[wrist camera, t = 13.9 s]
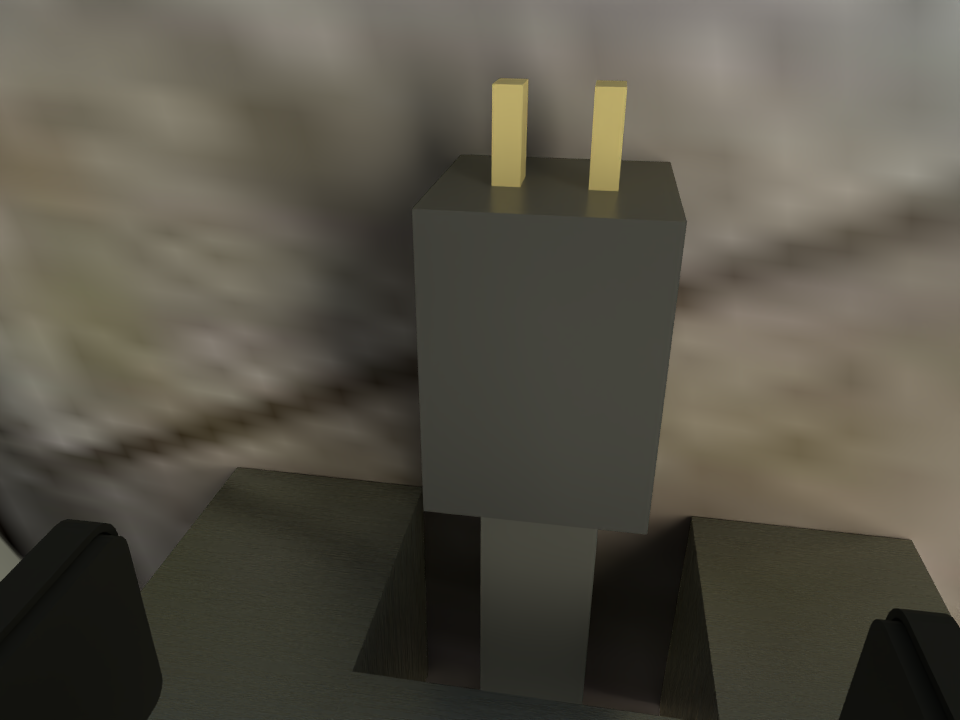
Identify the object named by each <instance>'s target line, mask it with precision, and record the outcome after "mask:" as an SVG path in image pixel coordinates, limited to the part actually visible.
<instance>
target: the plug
mask: <svg viewBox="0 0 960 720" xmlns="http://www.w3.org/2000/svg"><path fill="white" fill-rule="evenodd" d="M626 95H627V81H603V80H597V82H596V86H595V100H594V116H593V131H592V146H591V159H566V158H539V157H526V143H527V109H528V79H510V78H499V79H498V80H497V81H496V82H494V83H493V84H492V156H483V155H460V156H459V158H458V159H457V160H456V161H455V162H454V163H453V164H452V165H451V166H450V168H449V169H448V170H447V171H446V172H445V173H444V174H443V175H442V176H441V177H440V179H439V180H438V181H437V182H436V183H435V184H434V185H433V186H432V187H431V188H430V190H429V191H428V192H427V193H426V194H425V195H424V196H423V197H422V198H421V199H420V201H419V202H418V203H417V204H416V205H415V206H414V207H413V208H412V224H413V250H414V276H415V302H416V328H417V354H418V380H419V406H420V432H421V458H422V484H423V510H424V511H428V512H438V513H447V514H457V515H466V516H476V517H481V614H480V690H483V691H490V692H497V693H504V694H511V695H518V696H525V697H532V698H538V699H545V700H552V701H559V702H566V703H573V704H580V705H582V701H583V690H584V679H585V667H586V656H587V645H588V634H589V623H590V612H591V601H592V590H593V579H594V568H595V557H596V545H597V534H598V530H608V531H617V532H627V533H636V534H645V535H647V531H648V523H649V515H650V507H651V500H652V492H653V484H654V476H655V468H656V460H657V452H658V444H659V437H660V429H661V421H662V413H663V405H664V397H665V389H666V381H667V374H668V366H669V358H670V350H671V342H672V334H673V326H674V318H675V311H676V303H677V295H678V287H679V279H680V271H681V263H682V255H683V248H684V240H685V232H686V224H687V221H686V217H685V214H684V210H683V206H682V203H681V199H680V196H679V192H678V188H677V185H676V181H675V177H674V174H673V170H672V166H671V163H670V162H650V161H622V160H621V154H622V142H623V130H624V118H625V107H626Z"/></svg>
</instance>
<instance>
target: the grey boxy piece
mask: <svg viewBox="0 0 960 720" xmlns="http://www.w3.org/2000/svg"><path fill="white" fill-rule="evenodd" d="M140 593H141V597H142V600H143V604H144V608H145V612H146V616H147V619H148V623H149V627H150V631H151V635H152V639H153V642H154V646H155V650H156V654H157V658H158V661H159V665H160V669H161V673H162V679H163V682H162V690H161V694H160V697H159V700H158V702H157V704H156V706H155V708H154V710H153V711H152V713H151V715H150V716H149V718H148V720H839V717H840V714H841V711H842V708H843V705H844V702H845V699H846V696H847V693H848V690H849V687H850V684H851V681H852V678H853V675H854V672H855V669H856V667H857V664H858V661H859V658H860V655H861V652H862V649H863V646H864V643H865V640H866V637H867V634H868V631H869V628H870V626H871V624H872V622H873V621H874V620H875V619H882V620H885V619H886V617H887V615H888V613H889V612H890V611H891V610H892V609H893V608H899V609H909V610H918V611H927V612H937V613H946V614H948V615H950V613H949V611H948V609H947V607H946V605H945V603H944V601H943V599H942V598H941V596H940V594H939V592H938V590H937V588H936V586H935V584H934V582H933V580H932V578H931V576H930V575H929V573H928V571H927V569H926V567H925V565H924V563H923V561H922V559H921V557H920V555H919V554H918V552H917V550H916V548H915V546H914V544H913V542H912V540H904V539H895V538H886V537H876V536H867V535H858V534H849V533H839V532H830V531H821V530H812V529H802V528H793V527H784V526H775V525H765V524H756V523H747V522H738V521H728V520H719V519H710V518H701V517H692V518H691V524H690V529H689V535H688V541H687V547H686V553H685V559H684V565H683V570H682V576H681V582H680V588H679V594H678V600H677V606H676V612H675V617H674V623H673V629H672V635H671V641H670V647H669V653H668V658H667V664H666V670H665V676H664V682H663V688H662V694H661V699H660V705H659V709H660V716H656V715H649V714H642V713H635V712H629V711H622V710H615V709H608V708H601V707H594V706H587V705H580V704H573V703H566V702H559V701H552V700H545V699H538V698H532V697H525V696H518V695H511V694H504V693H497V692H490V691H483V690H476V689H469V688H462V687H455V686H448V685H441V684H435V683H428V682H426V678H427V675H428V658H427V620H426V583H425V546H424V510H423V487H414V486H405V485H396V484H386V483H377V482H368V481H359V480H349V479H340V478H331V477H322V476H312V475H303V474H294V473H285V472H275V471H266V470H257V469H248V468H237V469H236V470H235V471H234V473H233V474H232V475H231V477H230V478H229V479H228V480H227V482H226V483H225V484H224V485H223V487H222V488H221V489H220V491H219V492H218V493H217V494H216V496H215V497H214V498H213V500H212V501H211V502H210V503H209V505H208V506H207V507H206V509H205V510H204V511H203V512H202V514H201V515H200V516H199V518H198V519H197V520H196V521H195V523H194V524H193V525H192V526H191V528H190V529H189V530H188V532H187V533H186V534H185V535H184V537H183V538H182V539H181V541H180V542H179V543H178V544H177V546H176V547H175V548H174V550H173V551H172V552H171V553H170V555H169V556H168V557H167V559H166V560H165V561H164V562H163V564H162V565H161V566H160V567H159V569H158V570H157V571H156V573H155V574H154V575H153V576H152V578H151V579H150V580H149V582H148V583H147V584H146V585H145V587H144V588H143V589H142V591H141V592H140ZM950 616H951V615H950Z"/></svg>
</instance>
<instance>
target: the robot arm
mask: <svg viewBox="0 0 960 720" xmlns="http://www.w3.org/2000/svg"><path fill="white" fill-rule="evenodd" d="M162 682H163V679H162V673H161V669H160V665H159V661H158V658H157V654H156V650H155V646H154V642H153V639H152V635H151V631H150V627H149V623H148V619H147V616H146V612H145V608H144V604H143V600H142V597H141V593H140V589H139V585H138V581H137V577H136V574H135V570H134V566H133V562H132V558H131V555H130V551H129V547H128V544H127V541H126V539H124V538H123V537H121V536H118V533H117V531H116V529H115V528H114V527H113V526H112V525H111V524H107V523H98V522H89V521H80V520H70V519H67V520H64V521H61V522H60V523H59V524H57V525H56V526H55V527H54V528H53V529H52V530H51V531H50V532H49V533H48V534H47V535H46V536H45V537H44V538H43V539H42V540H41V541H40V542H39V543H38V544H37V545H36V546H35V547H34V548H33V549H32V550H31V551H30V552H29V553H28V554H27V555H26V556H25V557H24V558H23V559H22V560H21V561H20V562H19V564H17V565H16V567H15V568H14V569H13V570H12V571H11V572H10V573H9V574H8V575H7V576H6V577H5V578H4V579H3V580H2V581H1V582H0V720H148V718H149V716H150V715H151V713H152V711H153V710H154V708H155V706H156V704H157V702H158V700H159V697H160V694H161V690H162ZM839 720H960V628H959V626H958V624H957V623H956V621H955V620H954V618H953V617H951V616H950V615H948V614H946V613H937V612H927V611H918V610H909V609H899V608H893V609H892V610H891V611H890V612H889V613H888V615H887V617H886V619H885V620H882V619H875V620H874V621H873V622H872V624H871V626H870V628H869V631H868V634H867V637H866V640H865V643H864V646H863V649H862V652H861V655H860V658H859V661H858V664H857V667H856V669H855V672H854V675H853V678H852V681H851V684H850V687H849V690H848V693H847V696H846V699H845V702H844V705H843V708H842V711H841V714H840V717H839Z"/></svg>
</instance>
